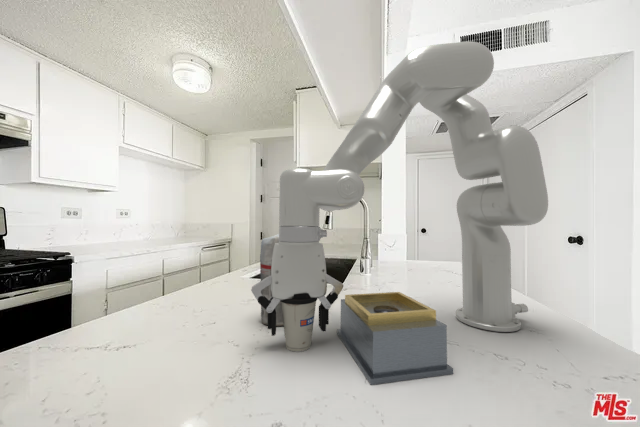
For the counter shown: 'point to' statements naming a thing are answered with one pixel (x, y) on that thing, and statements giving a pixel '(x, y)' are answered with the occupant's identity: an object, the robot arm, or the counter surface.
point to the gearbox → (393, 337)
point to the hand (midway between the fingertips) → (298, 330)
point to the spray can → (265, 271)
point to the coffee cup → (298, 321)
